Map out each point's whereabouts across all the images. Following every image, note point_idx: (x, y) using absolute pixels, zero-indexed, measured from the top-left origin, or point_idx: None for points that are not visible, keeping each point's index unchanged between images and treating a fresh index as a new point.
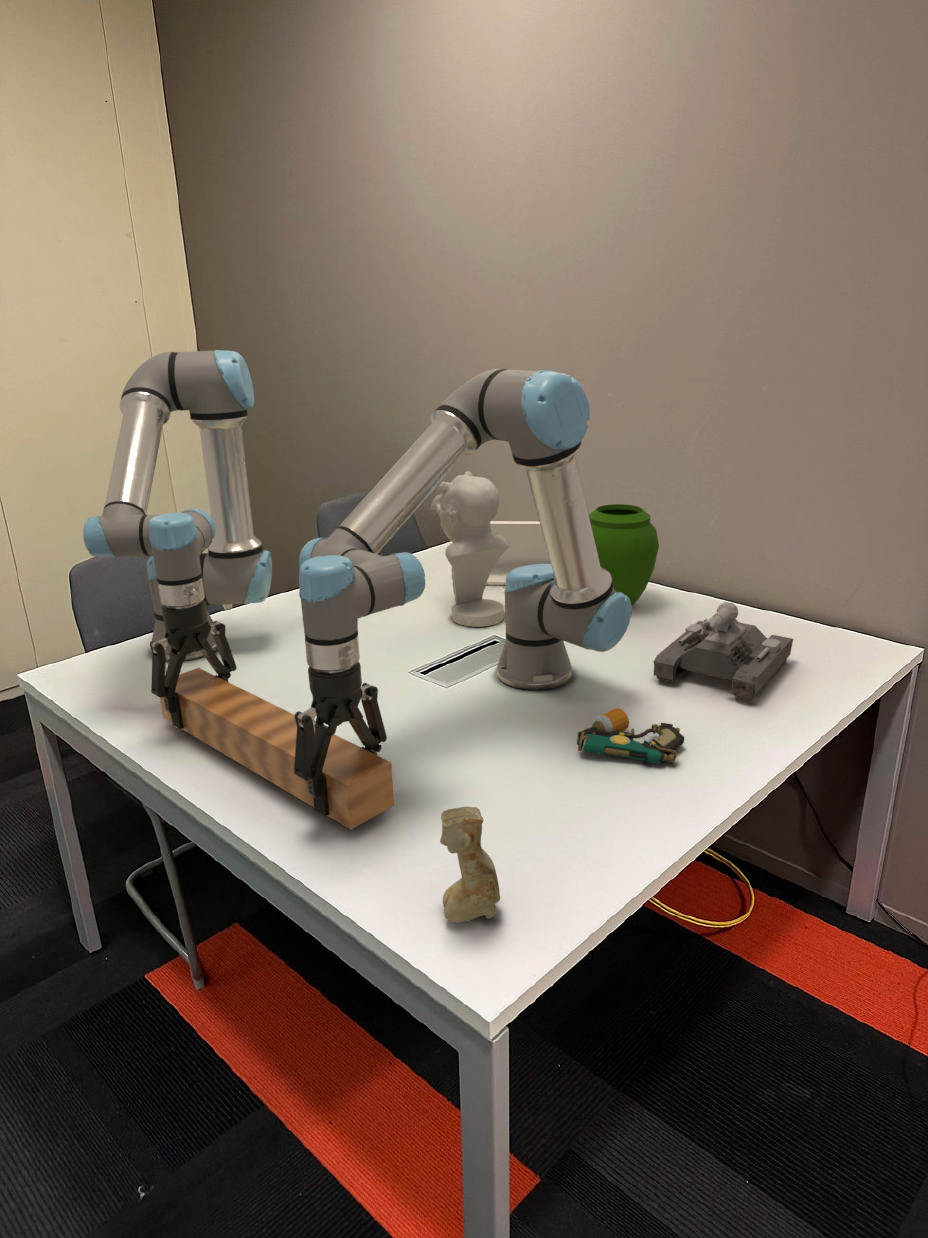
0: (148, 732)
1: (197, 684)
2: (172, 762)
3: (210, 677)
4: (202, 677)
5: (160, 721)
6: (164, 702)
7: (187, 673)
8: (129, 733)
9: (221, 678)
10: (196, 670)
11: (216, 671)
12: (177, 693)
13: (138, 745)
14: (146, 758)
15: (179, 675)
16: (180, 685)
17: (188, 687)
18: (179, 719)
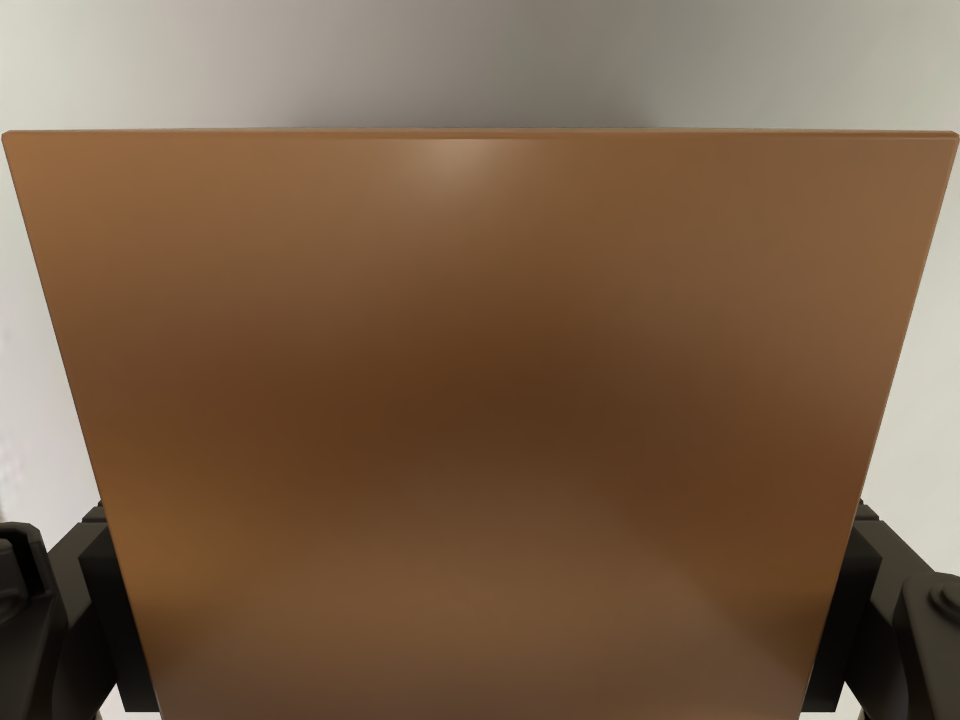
0: (153, 127)
1: (483, 692)
2: None
3: (740, 644)
4: (673, 569)
5: (302, 8)
6: (65, 542)
7: (634, 228)
8: (14, 9)
9: (825, 685)
10: (830, 235)
11: (905, 660)
12: (162, 715)
13: (34, 267)
14: (41, 459)
15: (476, 194)
16: (291, 566)
17: (347, 685)
18: None
